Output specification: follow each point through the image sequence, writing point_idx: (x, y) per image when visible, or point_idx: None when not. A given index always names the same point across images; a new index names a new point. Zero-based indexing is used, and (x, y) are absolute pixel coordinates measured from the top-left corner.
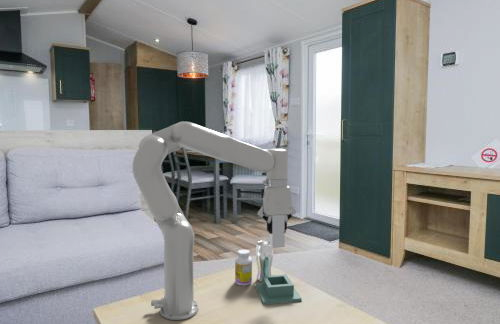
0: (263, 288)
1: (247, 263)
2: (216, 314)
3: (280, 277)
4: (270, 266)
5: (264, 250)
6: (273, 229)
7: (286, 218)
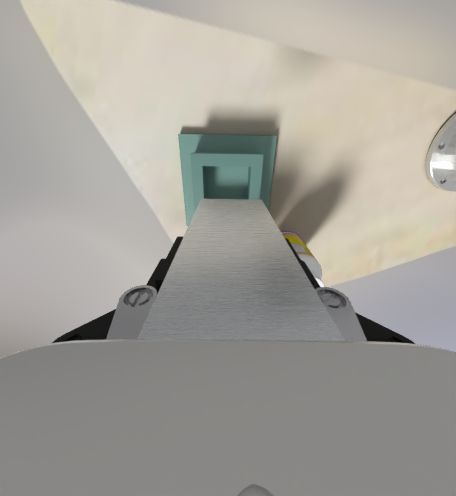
0: None
1: None
2: (402, 107)
3: None
4: None
5: None
6: (276, 239)
7: (131, 312)
